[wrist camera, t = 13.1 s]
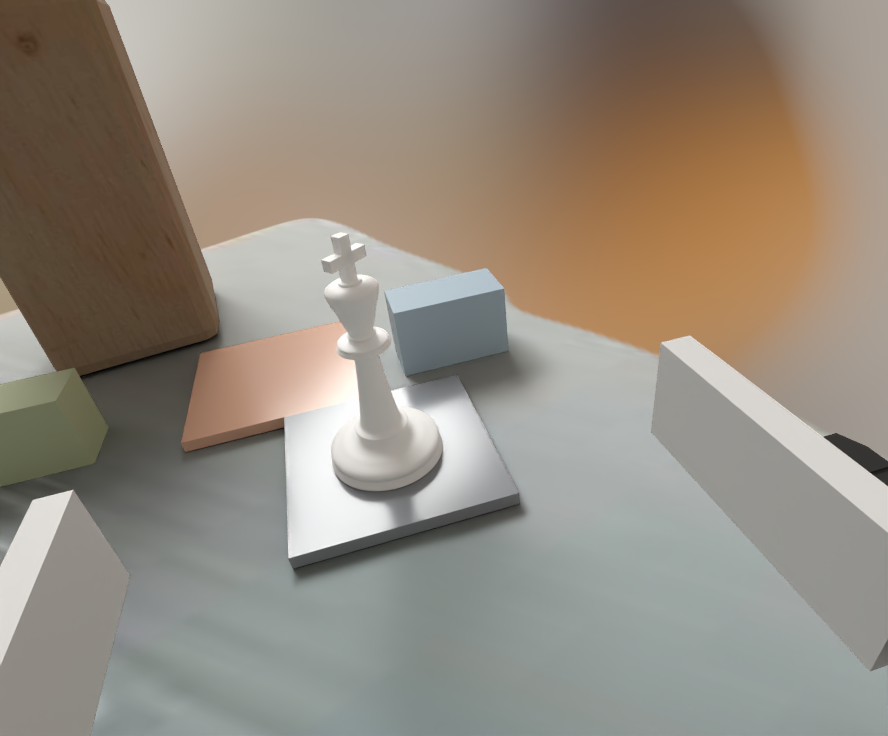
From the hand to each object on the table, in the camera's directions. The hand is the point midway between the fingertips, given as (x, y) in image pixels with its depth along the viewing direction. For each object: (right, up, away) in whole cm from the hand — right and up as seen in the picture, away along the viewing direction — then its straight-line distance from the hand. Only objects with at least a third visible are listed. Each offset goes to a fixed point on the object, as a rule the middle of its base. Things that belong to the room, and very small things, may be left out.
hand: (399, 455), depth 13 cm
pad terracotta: (-8, +1, +19) cm, 21 cm away
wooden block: (-20, +4, +27) cm, 34 cm away
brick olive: (-19, -3, +16) cm, 25 cm away
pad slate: (-1, -2, +13) cm, 13 cm away
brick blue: (+1, +3, +20) cm, 20 cm away
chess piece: (-1, -2, +12) cm, 13 cm away
